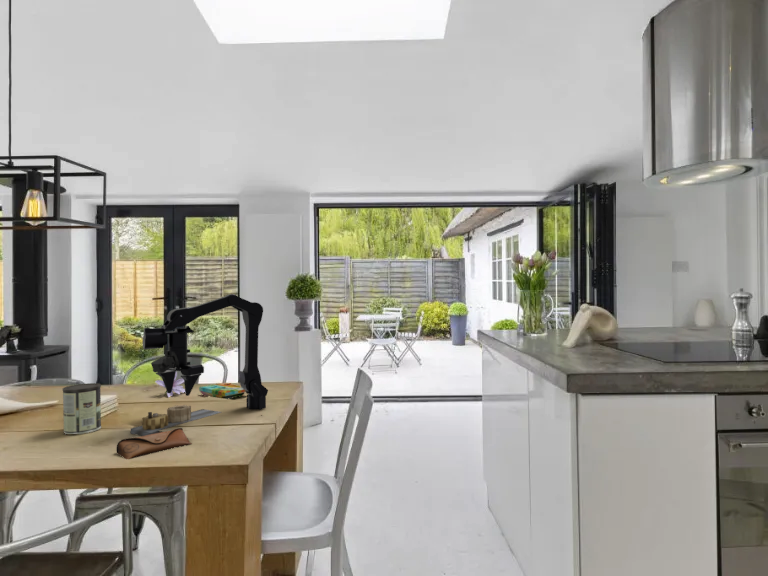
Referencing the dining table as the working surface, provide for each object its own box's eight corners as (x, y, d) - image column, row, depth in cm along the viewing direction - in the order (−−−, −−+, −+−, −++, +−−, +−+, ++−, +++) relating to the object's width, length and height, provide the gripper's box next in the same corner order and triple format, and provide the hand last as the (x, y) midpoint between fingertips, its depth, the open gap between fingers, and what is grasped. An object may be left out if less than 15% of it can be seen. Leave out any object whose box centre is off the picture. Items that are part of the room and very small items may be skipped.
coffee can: (82, 425, 154) (82, 382, 154) (108, 426, 152) (108, 383, 152) (54, 434, 144) (54, 389, 144) (81, 436, 142) (81, 390, 142)
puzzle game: (224, 380, 207) (250, 386, 194) (224, 391, 206) (250, 397, 194) (199, 385, 198) (225, 390, 185) (199, 396, 197) (225, 402, 185)
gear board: (222, 416, 162) (221, 398, 163) (150, 437, 139) (150, 416, 139) (202, 413, 167) (202, 395, 167) (130, 433, 144) (130, 413, 144)
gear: (195, 418, 155) (195, 406, 155) (176, 423, 148) (176, 411, 148) (181, 416, 158) (181, 404, 158) (162, 421, 152) (162, 408, 152)
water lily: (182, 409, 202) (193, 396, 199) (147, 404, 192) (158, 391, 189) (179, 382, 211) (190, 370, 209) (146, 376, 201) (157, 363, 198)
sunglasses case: (125, 460, 120) (121, 435, 122) (118, 468, 124) (114, 444, 127) (194, 443, 133) (189, 421, 135) (186, 451, 137) (181, 429, 139)
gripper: (137, 348, 151) (137, 396, 151) (174, 351, 142) (175, 402, 142) (168, 344, 161) (168, 390, 160) (204, 347, 152) (205, 395, 151)
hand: (178, 394), depth 153 cm, fingers open, 9 cm apart
